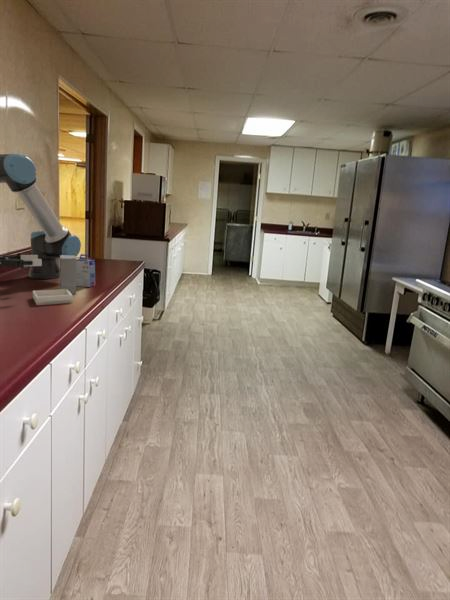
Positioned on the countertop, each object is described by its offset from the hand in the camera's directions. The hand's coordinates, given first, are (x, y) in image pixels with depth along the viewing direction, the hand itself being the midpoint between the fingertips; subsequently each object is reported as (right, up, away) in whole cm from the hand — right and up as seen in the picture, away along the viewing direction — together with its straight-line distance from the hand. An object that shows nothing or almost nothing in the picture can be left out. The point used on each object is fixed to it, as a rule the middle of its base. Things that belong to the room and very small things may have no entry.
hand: (39, 260), depth 174 cm
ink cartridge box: (+10, -10, +24) cm, 28 cm away
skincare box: (+9, -13, +8) cm, 18 cm away
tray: (+8, -16, -6) cm, 19 cm away
